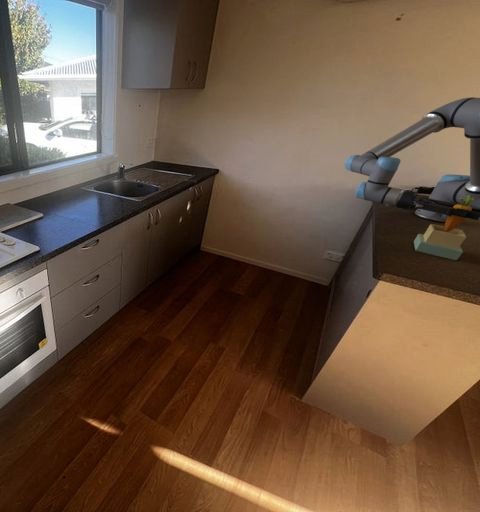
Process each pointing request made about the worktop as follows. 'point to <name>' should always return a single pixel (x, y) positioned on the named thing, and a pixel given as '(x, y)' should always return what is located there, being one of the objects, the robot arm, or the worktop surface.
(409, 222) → the worktop surface
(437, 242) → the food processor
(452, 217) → the carrot
